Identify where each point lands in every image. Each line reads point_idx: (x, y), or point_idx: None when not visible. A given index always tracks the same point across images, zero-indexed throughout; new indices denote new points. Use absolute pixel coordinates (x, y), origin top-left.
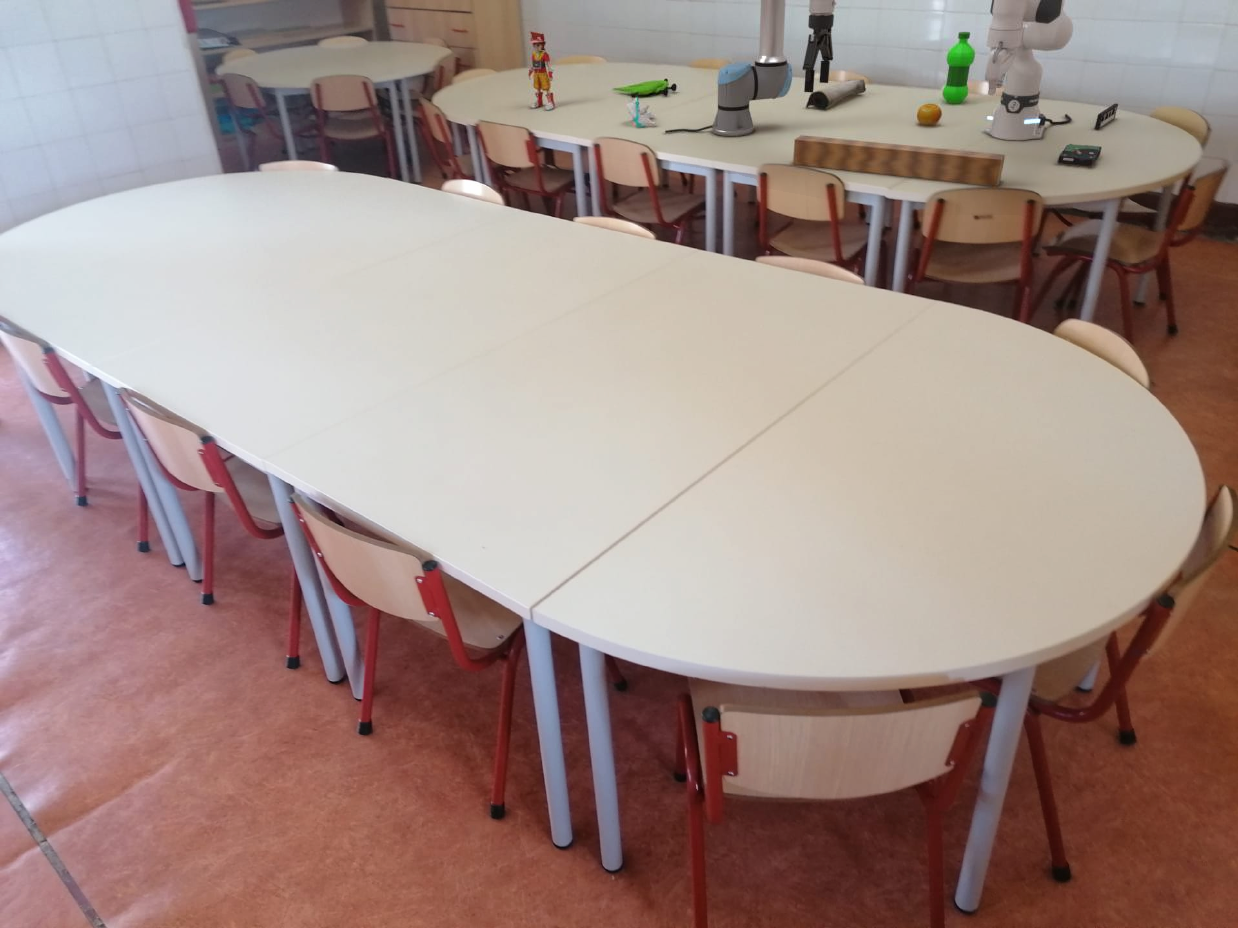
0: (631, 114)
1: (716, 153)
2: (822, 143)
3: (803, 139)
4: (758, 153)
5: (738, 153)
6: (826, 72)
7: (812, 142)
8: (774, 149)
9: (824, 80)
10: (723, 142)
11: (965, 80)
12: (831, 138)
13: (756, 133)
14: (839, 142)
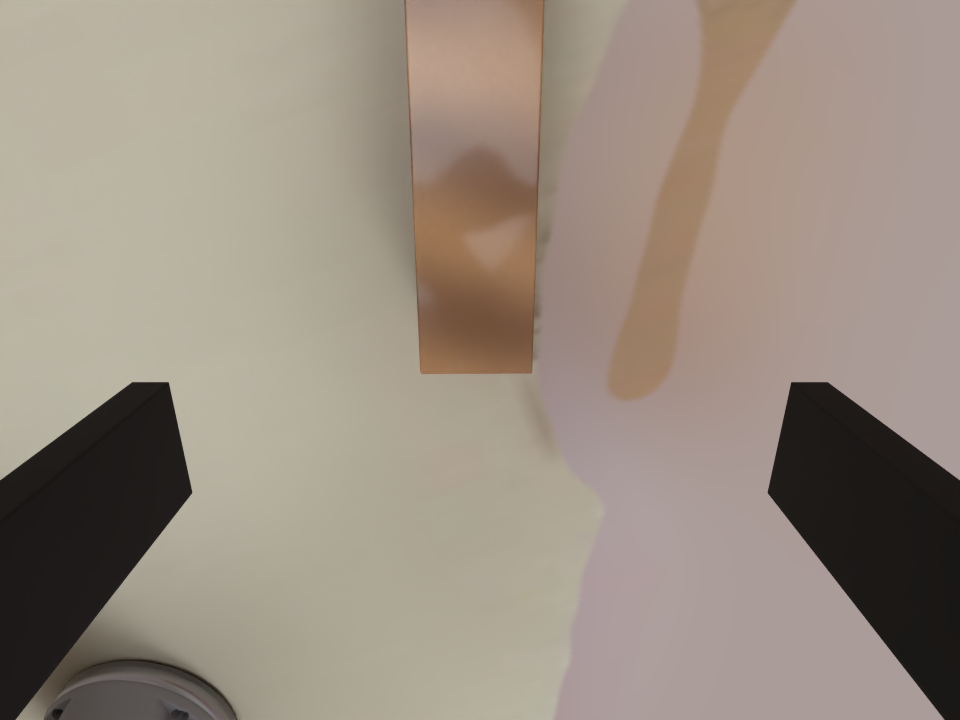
0: None
1: (474, 668)
2: (536, 173)
3: (514, 322)
4: (405, 530)
5: (440, 600)
6: (73, 500)
7: (534, 249)
8: (313, 492)
9: (157, 448)
10: (314, 700)
11: None
12: (422, 144)
13: (118, 642)
14: (505, 41)
